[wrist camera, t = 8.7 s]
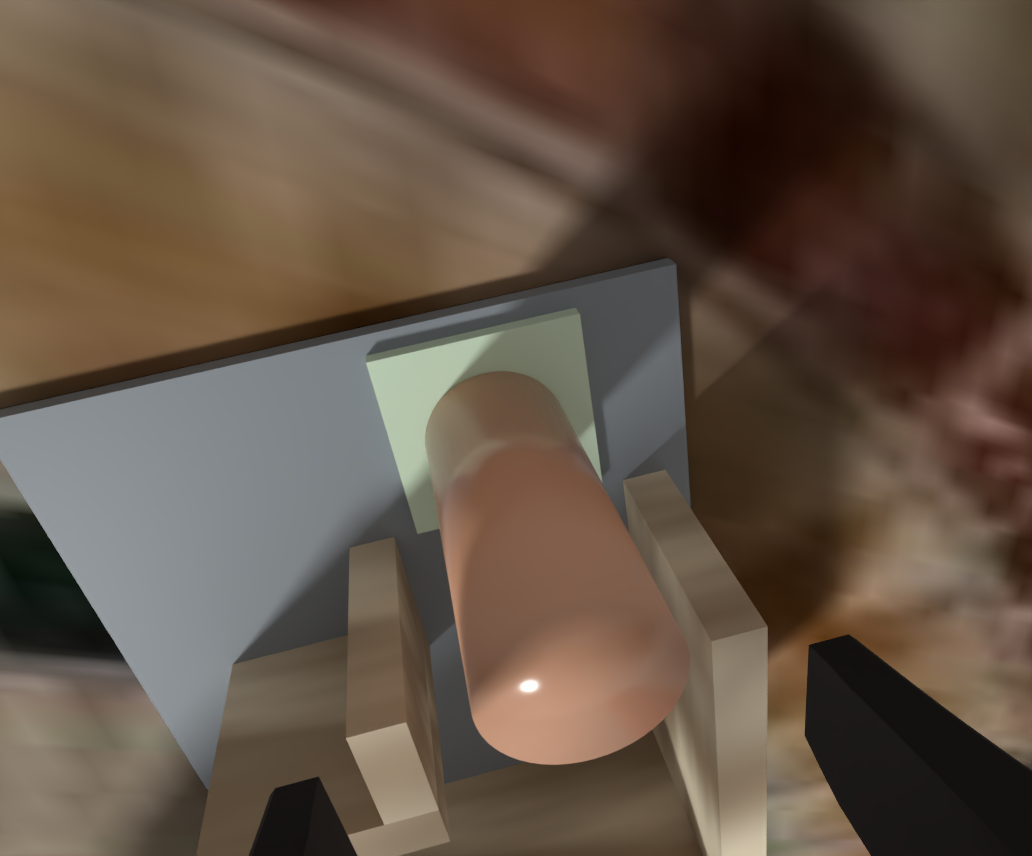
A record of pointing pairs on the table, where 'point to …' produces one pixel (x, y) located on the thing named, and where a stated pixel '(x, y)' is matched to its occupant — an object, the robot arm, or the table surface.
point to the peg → (545, 580)
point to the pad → (448, 361)
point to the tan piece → (519, 788)
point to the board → (304, 493)
